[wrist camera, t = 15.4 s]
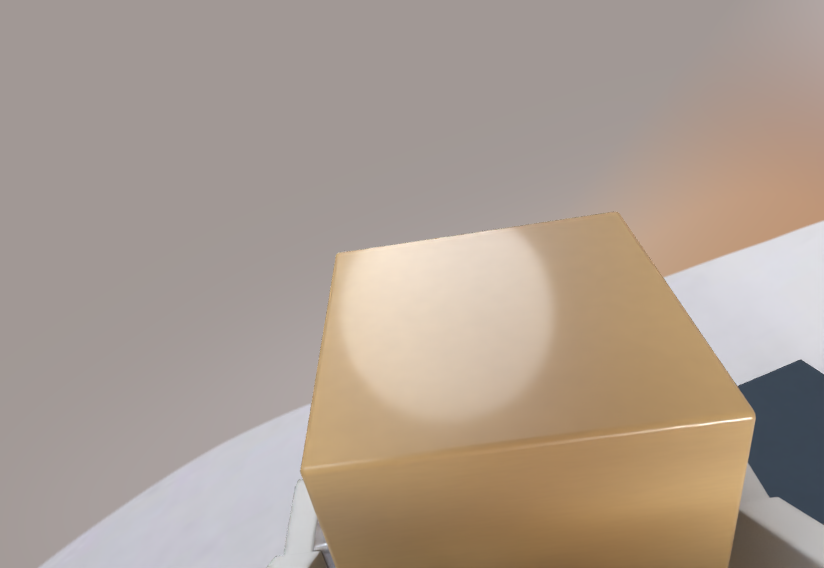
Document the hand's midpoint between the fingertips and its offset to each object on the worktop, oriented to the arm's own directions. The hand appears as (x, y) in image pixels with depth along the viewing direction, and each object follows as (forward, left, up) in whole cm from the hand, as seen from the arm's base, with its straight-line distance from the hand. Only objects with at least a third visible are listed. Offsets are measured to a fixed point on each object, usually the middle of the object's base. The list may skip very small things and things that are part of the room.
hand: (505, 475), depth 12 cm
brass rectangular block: (0, -1, -5) cm, 6 cm away
